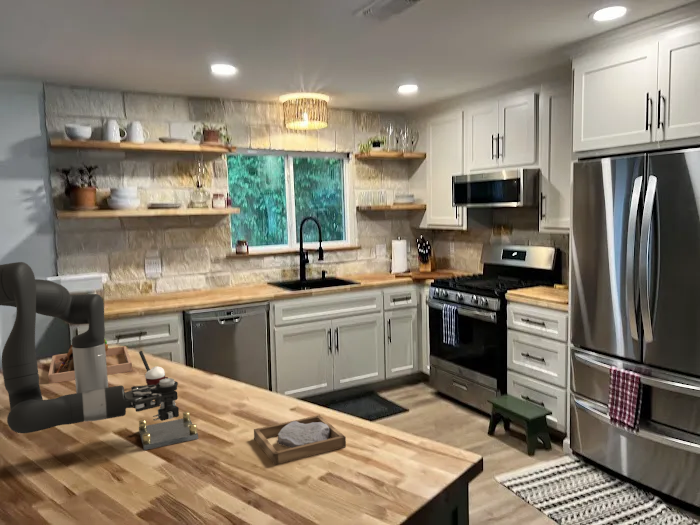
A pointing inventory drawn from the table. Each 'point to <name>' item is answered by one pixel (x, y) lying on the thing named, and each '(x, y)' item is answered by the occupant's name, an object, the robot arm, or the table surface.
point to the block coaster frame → (300, 451)
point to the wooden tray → (71, 374)
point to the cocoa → (152, 372)
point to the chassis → (167, 432)
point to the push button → (167, 408)
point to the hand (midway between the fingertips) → (175, 392)
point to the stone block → (303, 433)
